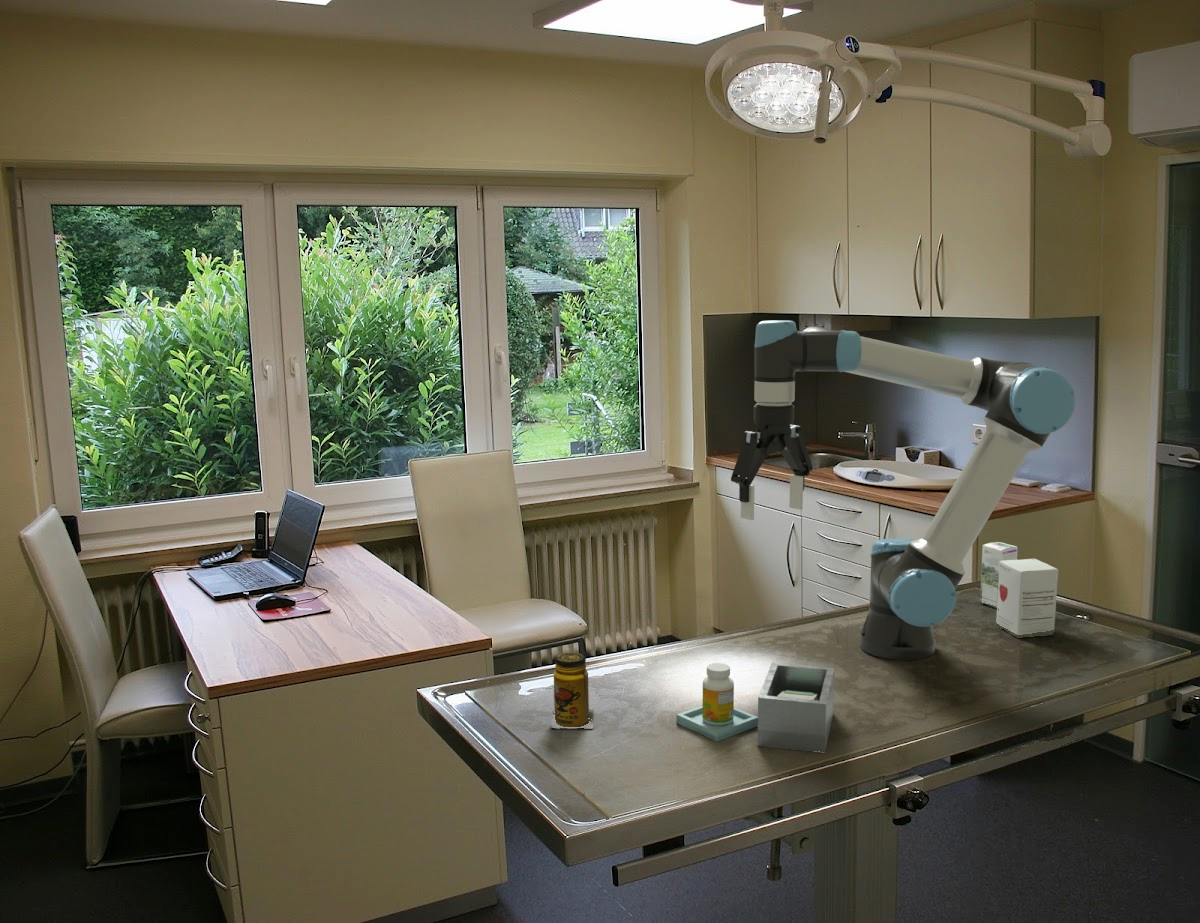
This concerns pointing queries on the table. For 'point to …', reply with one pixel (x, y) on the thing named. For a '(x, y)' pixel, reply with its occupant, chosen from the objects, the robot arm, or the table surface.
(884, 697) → the table surface
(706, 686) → the supplement bottle
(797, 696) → the block
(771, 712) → the guard box
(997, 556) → the syrup box
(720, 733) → the tray
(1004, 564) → the supplement box
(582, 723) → the condiment
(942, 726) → the table surface
